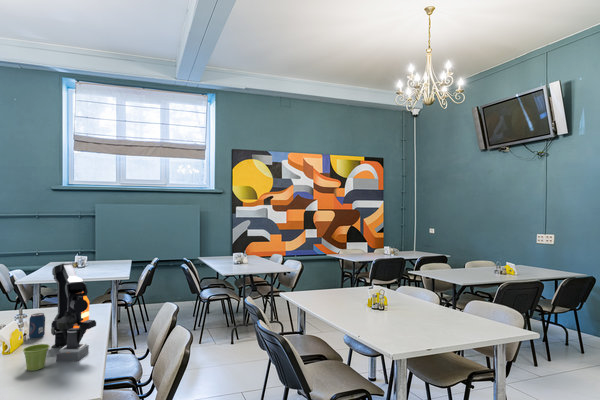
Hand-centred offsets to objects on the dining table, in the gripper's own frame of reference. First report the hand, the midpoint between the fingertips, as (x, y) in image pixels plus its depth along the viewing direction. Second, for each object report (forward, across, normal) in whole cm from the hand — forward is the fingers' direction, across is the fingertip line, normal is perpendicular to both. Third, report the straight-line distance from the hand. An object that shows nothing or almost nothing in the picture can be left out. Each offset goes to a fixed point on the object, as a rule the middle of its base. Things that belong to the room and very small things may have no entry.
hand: (73, 342), depth 177 cm
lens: (+2, 0, 0) cm, 2 cm away
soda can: (+7, -39, +22) cm, 45 cm away
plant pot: (+7, -6, -14) cm, 17 cm away
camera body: (+6, 0, 0) cm, 7 cm away
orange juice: (+7, -30, +42) cm, 52 cm away
